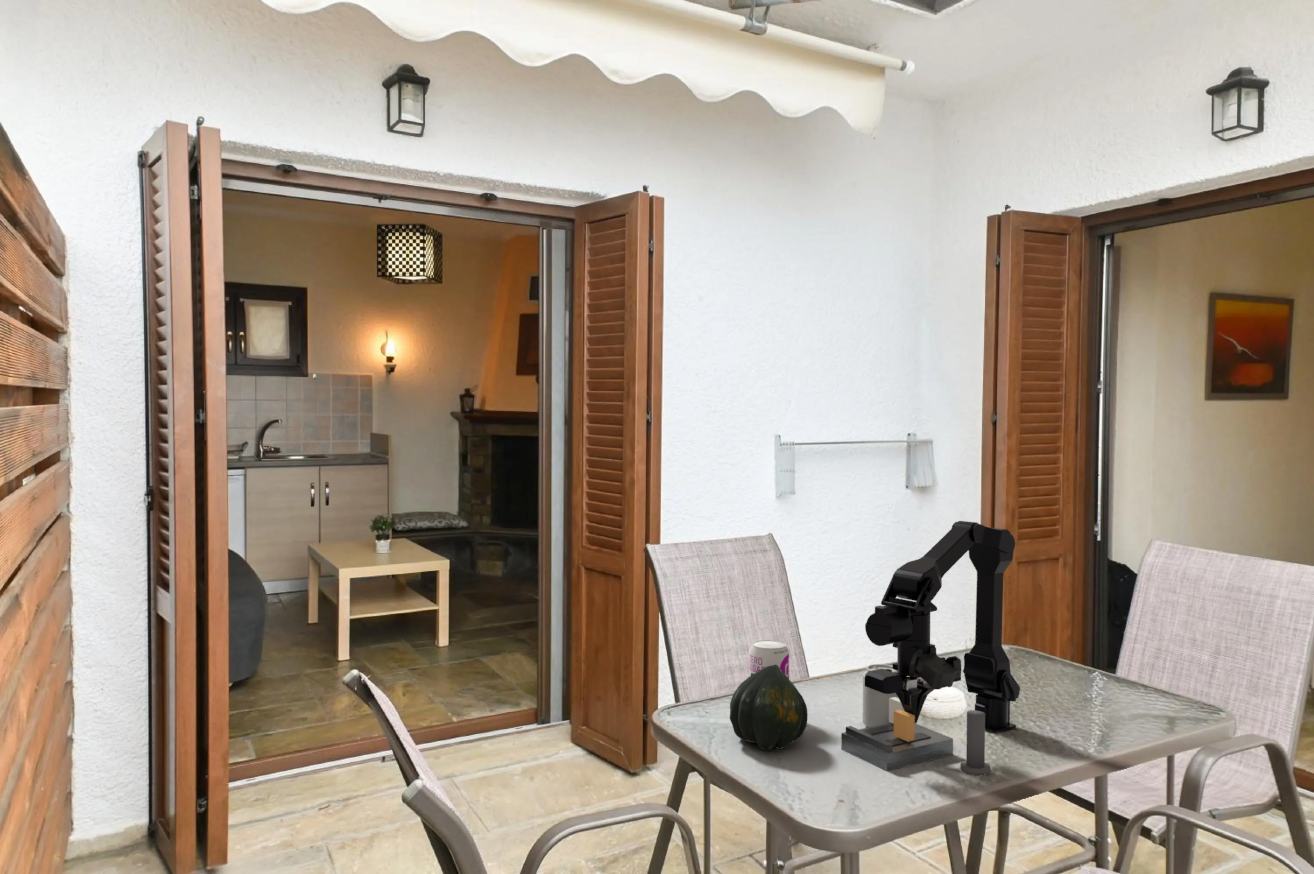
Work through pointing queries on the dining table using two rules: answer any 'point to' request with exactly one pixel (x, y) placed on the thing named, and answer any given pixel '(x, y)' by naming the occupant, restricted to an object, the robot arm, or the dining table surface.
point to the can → (876, 700)
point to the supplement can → (768, 656)
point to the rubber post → (975, 745)
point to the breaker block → (895, 746)
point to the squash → (768, 709)
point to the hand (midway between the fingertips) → (913, 722)
